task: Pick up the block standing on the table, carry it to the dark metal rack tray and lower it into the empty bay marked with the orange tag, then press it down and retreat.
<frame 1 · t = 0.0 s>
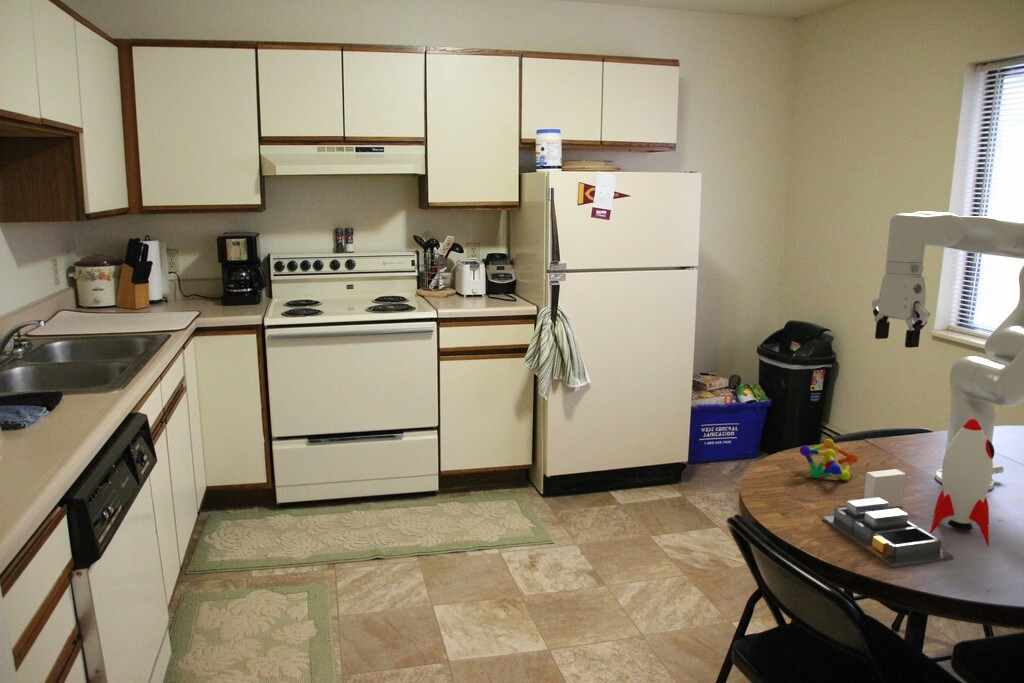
hand: (896, 342, 174), 37 cm above the table, tool pointing down, fingers open, 9 cm apart
rocket: (959, 530, 162), on the table
block: (882, 505, 174), on the table
decorative model: (827, 476, 192), on the table
rack: (884, 537, 159), on the table
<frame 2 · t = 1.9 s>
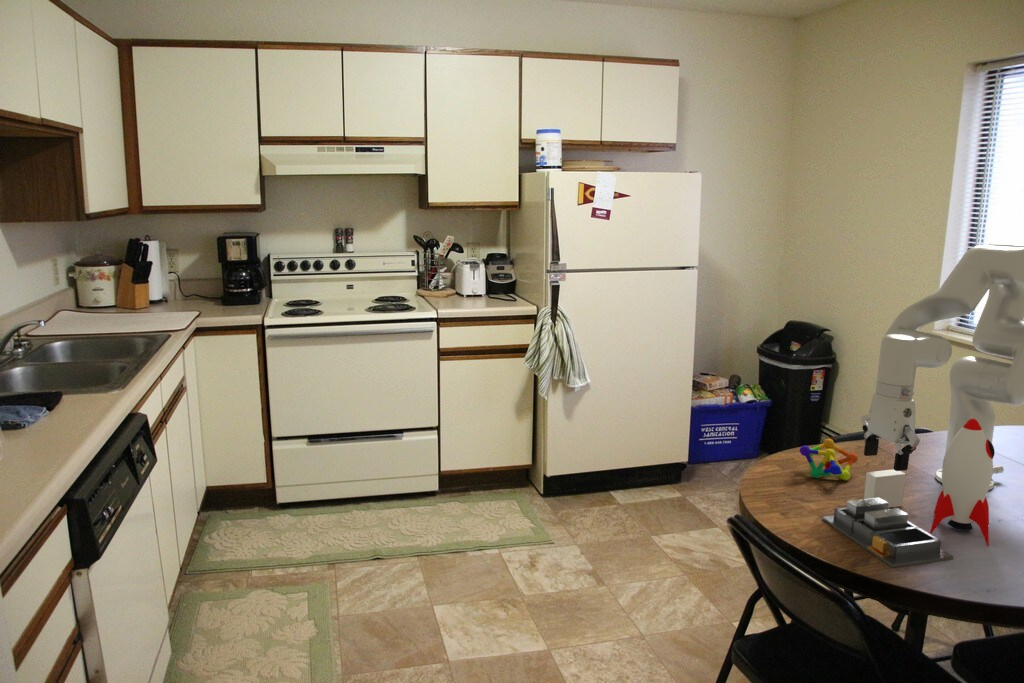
hand: (885, 462, 172), 11 cm above the table, tool pointing down, fingers open, 9 cm apart
nothing on the table moved.
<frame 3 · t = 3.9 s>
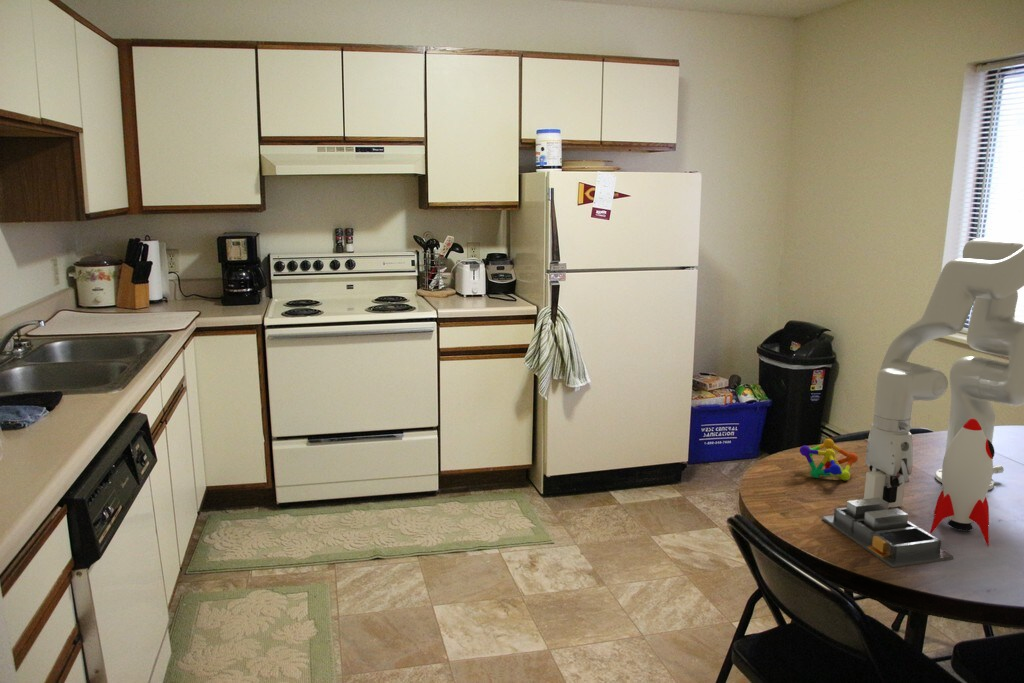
hand: (883, 498, 174), 2 cm above the table, tool pointing down, fingers closed on block, 2 cm apart
block: (882, 505, 174), on the table, touching gripper
everything else where it was.
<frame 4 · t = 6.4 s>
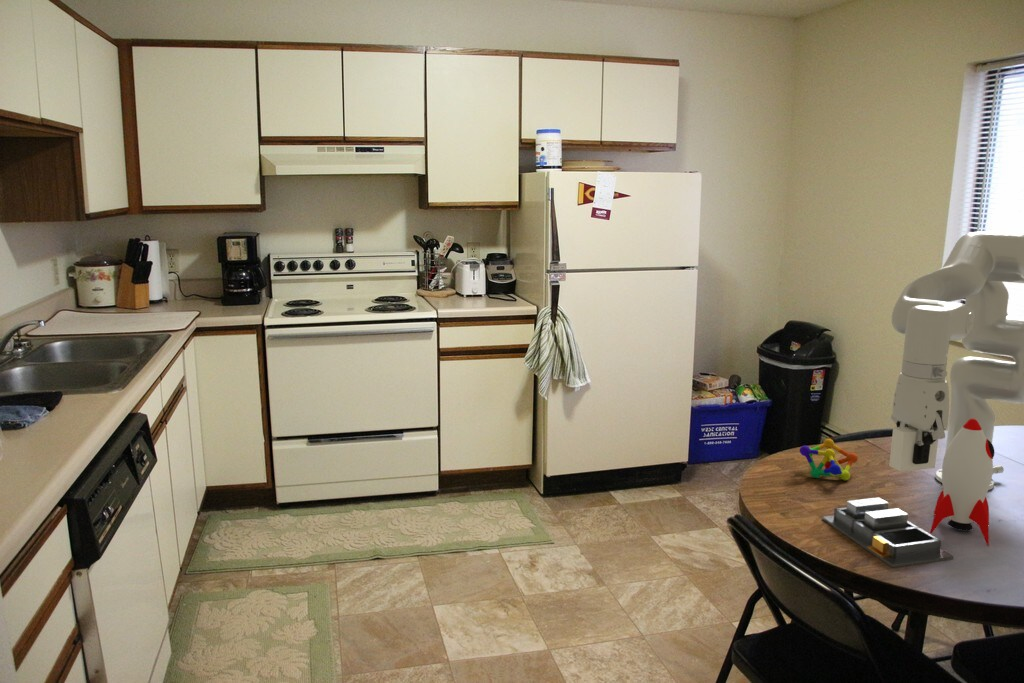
hand: (913, 459, 149), 20 cm above the table, tool pointing down, fingers closed on block, 3 cm apart
block: (911, 466, 150), point 18 cm above the table, touching gripper
everything else where it was.
when the fingers open (4 cm above the table, at t = 8.8 s): block drops 2 cm, resting on rack.
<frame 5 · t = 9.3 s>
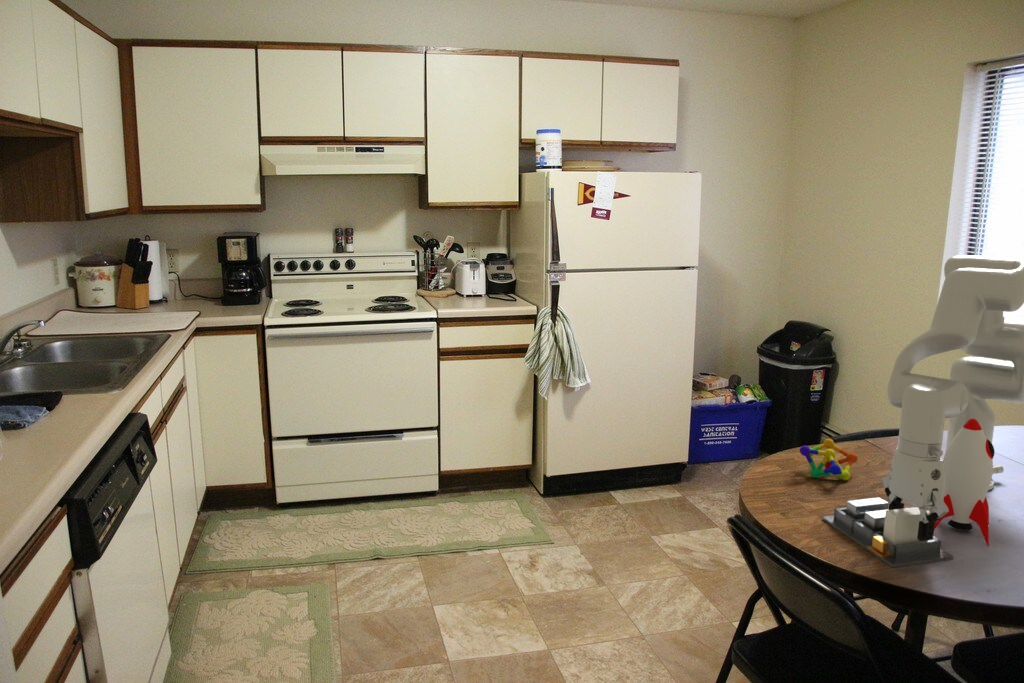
hand: (909, 530, 151), 5 cm above the table, tool pointing down, fingers open, 7 cm apart
block: (904, 548, 153), point 1 cm above the table, touching rack
everything else where it was.
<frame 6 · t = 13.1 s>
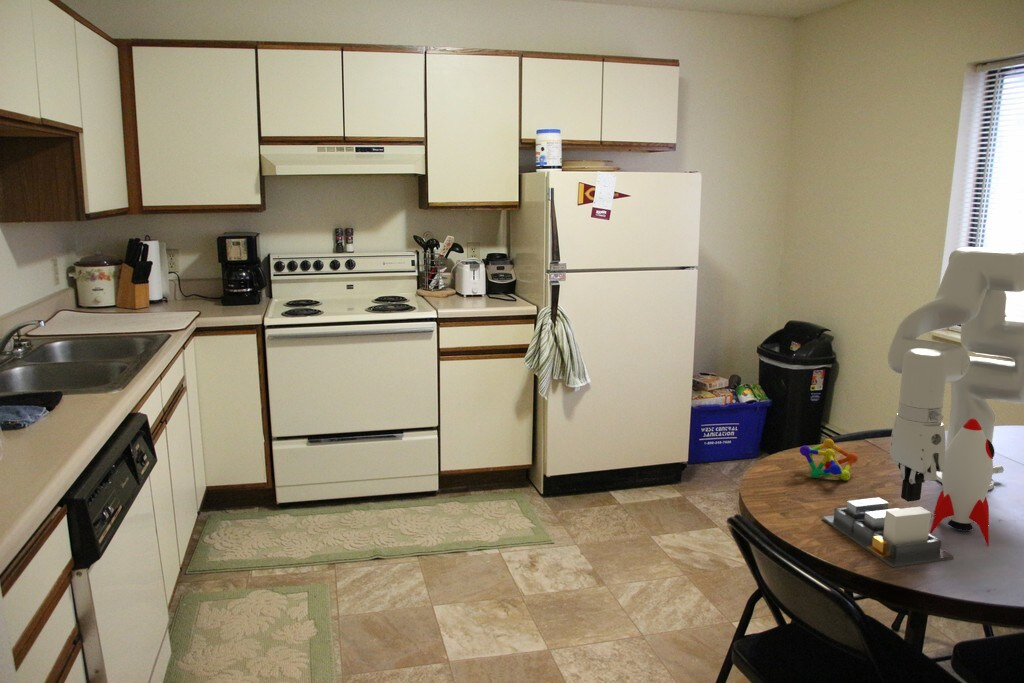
hand: (910, 499, 151), 11 cm above the table, tool pointing down, fingers closed
nothing on the table moved.
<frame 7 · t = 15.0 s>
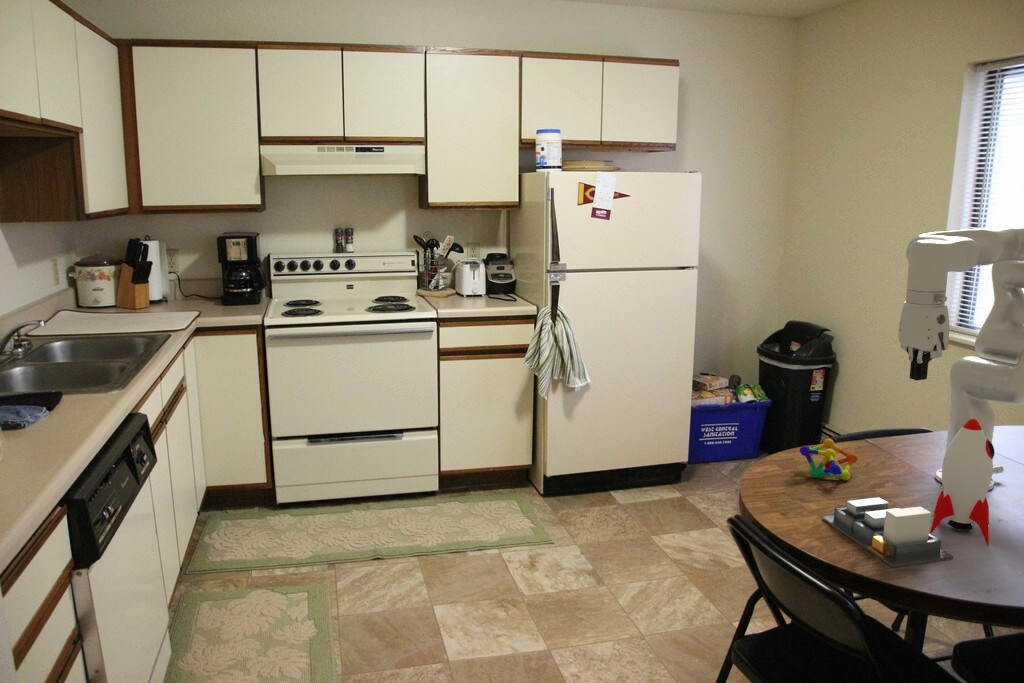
hand: (918, 378, 167), 30 cm above the table, tool pointing down, fingers closed
nothing on the table moved.
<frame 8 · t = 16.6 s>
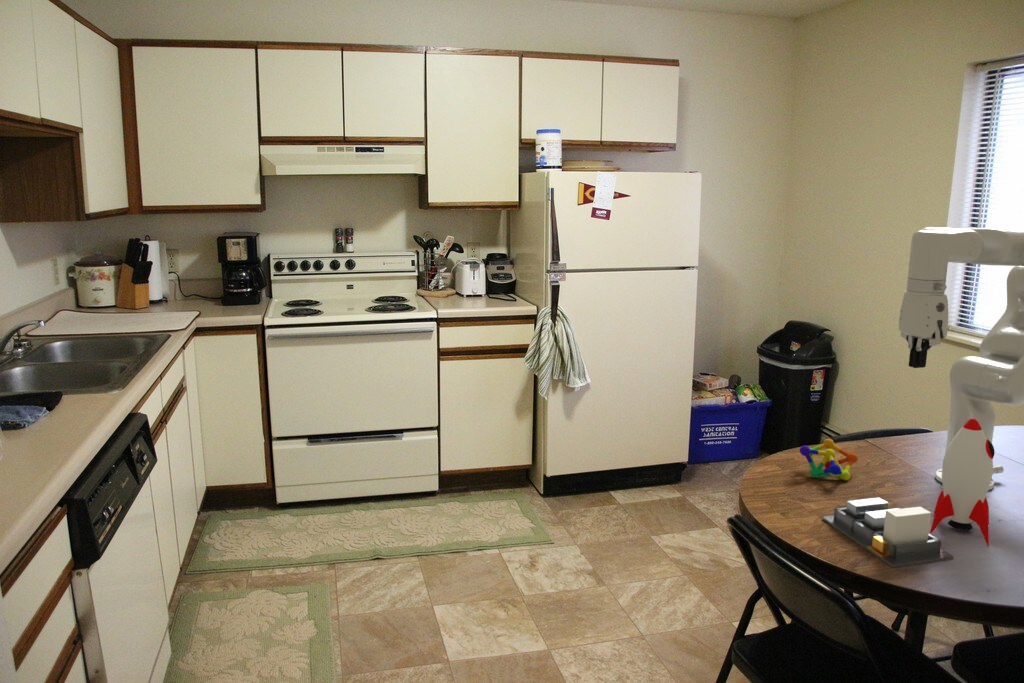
hand: (917, 366, 171), 32 cm above the table, tool pointing down, fingers closed
nothing on the table moved.
at the end: block 0.0 cm from the target spot on the rack, point 0.6 cm above the rack's base; block tilted 0°; the gripper is holding nothing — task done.
